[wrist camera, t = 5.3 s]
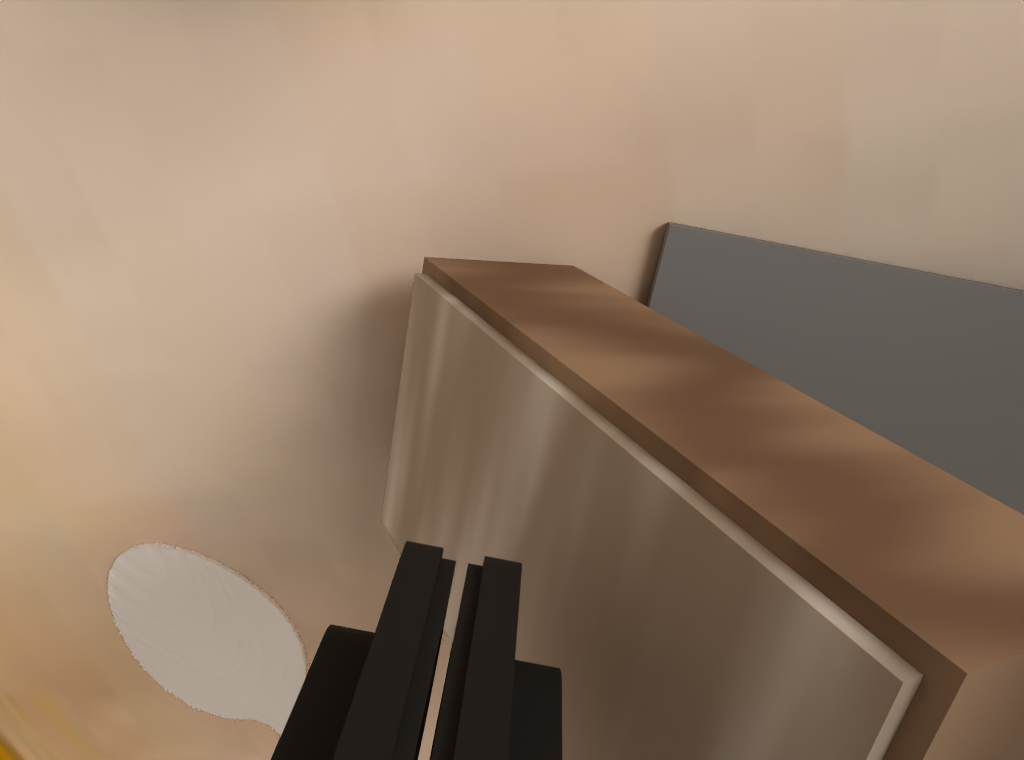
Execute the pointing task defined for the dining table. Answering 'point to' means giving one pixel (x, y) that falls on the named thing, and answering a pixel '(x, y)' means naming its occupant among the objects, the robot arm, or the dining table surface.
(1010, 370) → the rubber mat
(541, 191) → the dining table surface
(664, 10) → the dining table surface
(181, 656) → the spoon
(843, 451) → the walnut box
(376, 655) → the robot arm
